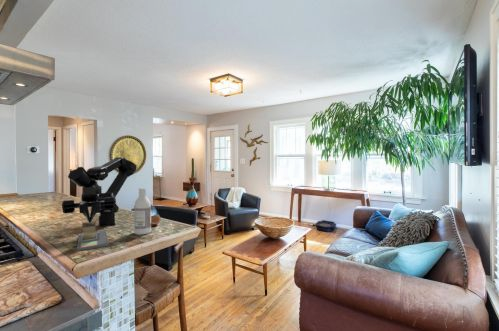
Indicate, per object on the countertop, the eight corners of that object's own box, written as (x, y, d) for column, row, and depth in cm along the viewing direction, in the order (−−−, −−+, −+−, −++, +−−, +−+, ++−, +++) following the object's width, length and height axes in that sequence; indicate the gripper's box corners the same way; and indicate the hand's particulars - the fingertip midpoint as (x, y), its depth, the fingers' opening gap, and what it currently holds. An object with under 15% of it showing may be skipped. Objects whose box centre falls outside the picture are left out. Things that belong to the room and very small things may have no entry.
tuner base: (80, 236, 104) (80, 227, 104) (106, 232, 109) (106, 224, 109) (77, 251, 87) (77, 240, 87) (108, 246, 92) (107, 236, 92)
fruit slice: (149, 228, 116) (149, 218, 116) (139, 226, 119) (139, 216, 119) (163, 224, 123) (163, 214, 123) (154, 223, 126) (153, 213, 126)
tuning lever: (82, 238, 95) (81, 222, 91) (96, 236, 98) (95, 221, 93) (82, 241, 94) (81, 226, 90) (96, 239, 97) (95, 224, 92)
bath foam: (151, 233, 108) (151, 188, 107) (134, 235, 105) (134, 189, 104) (150, 229, 114) (150, 186, 114) (134, 231, 111) (133, 187, 111)
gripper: (61, 180, 99) (59, 213, 90) (114, 179, 109) (116, 207, 100) (64, 197, 106) (61, 229, 97) (113, 194, 116) (115, 222, 107)
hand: (89, 221), depth 100 cm, fingers closed
